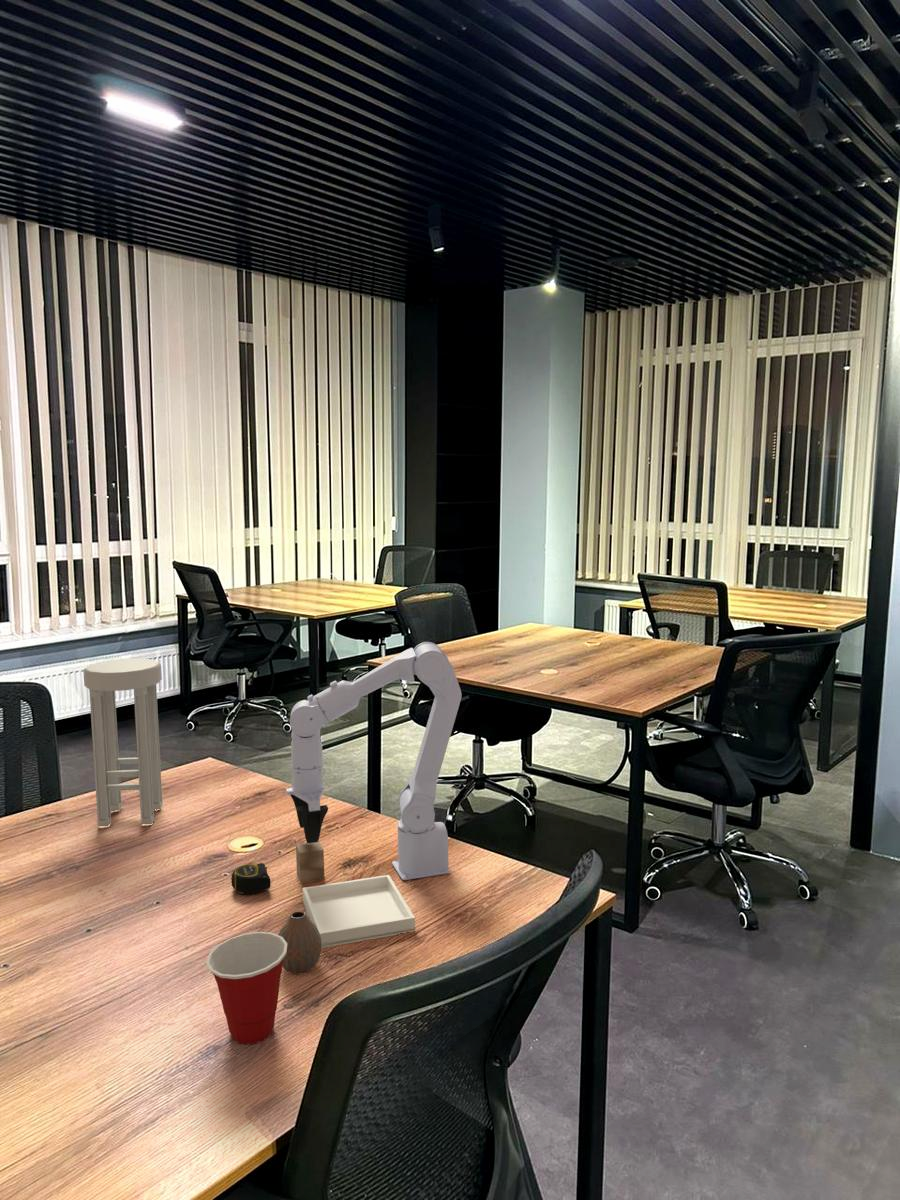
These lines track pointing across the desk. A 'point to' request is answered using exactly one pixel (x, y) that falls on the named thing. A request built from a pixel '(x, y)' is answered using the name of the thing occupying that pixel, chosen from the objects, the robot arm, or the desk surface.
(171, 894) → the desk surface
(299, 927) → the vase
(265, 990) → the plastic cup
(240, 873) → the tape measure
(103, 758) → the stool
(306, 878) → the walnut block
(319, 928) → the tray
